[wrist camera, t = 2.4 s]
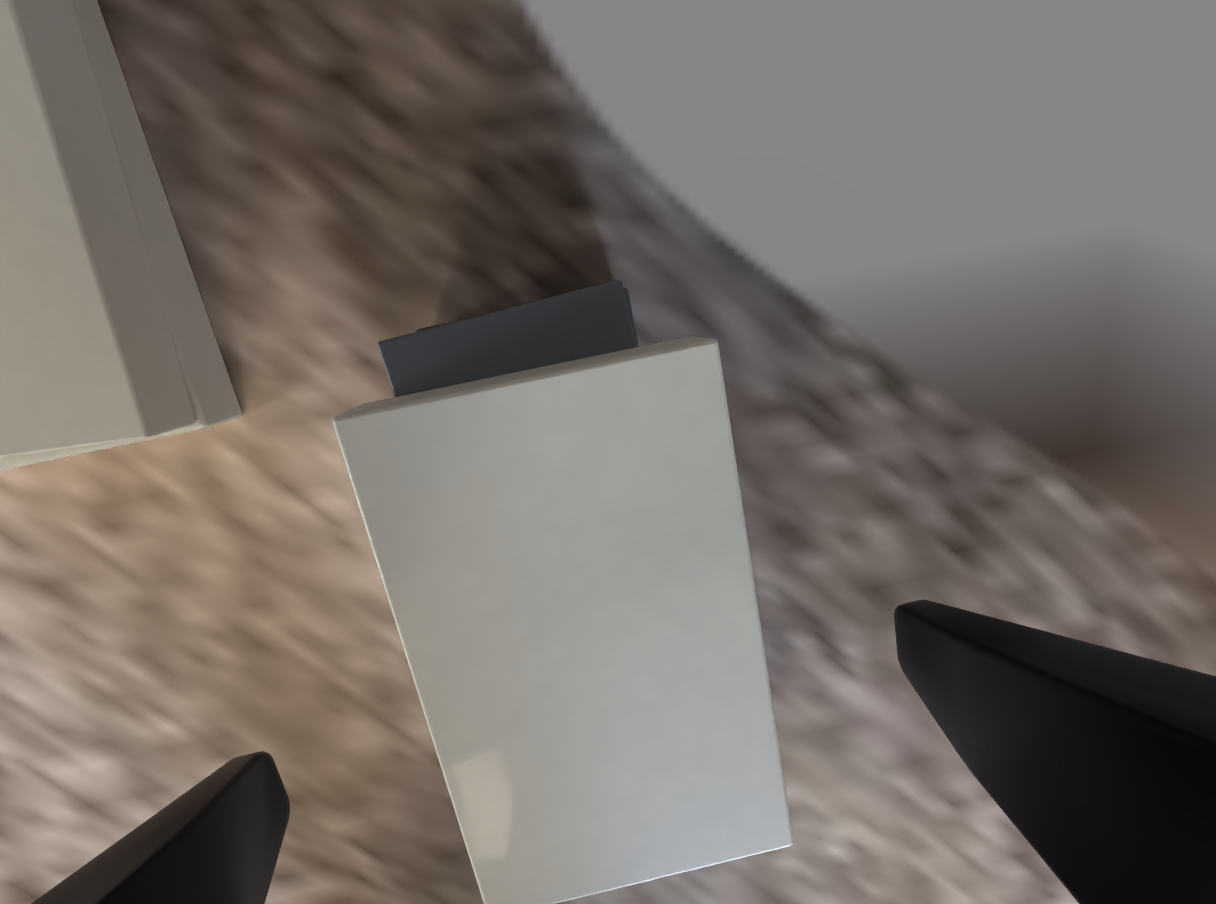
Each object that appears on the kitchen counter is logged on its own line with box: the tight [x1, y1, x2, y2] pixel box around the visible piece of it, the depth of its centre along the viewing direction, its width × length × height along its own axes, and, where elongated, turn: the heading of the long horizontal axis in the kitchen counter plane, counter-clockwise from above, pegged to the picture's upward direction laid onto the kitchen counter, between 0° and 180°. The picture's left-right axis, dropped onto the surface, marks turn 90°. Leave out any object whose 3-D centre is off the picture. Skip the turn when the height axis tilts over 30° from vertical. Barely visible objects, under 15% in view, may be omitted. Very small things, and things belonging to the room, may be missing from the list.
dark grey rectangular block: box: [377, 280, 638, 397], centre depth 12 cm, size 11×4×3 cm, turn 11°
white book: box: [333, 336, 793, 904], centre depth 10 cm, size 9×6×1 cm, turn 11°
